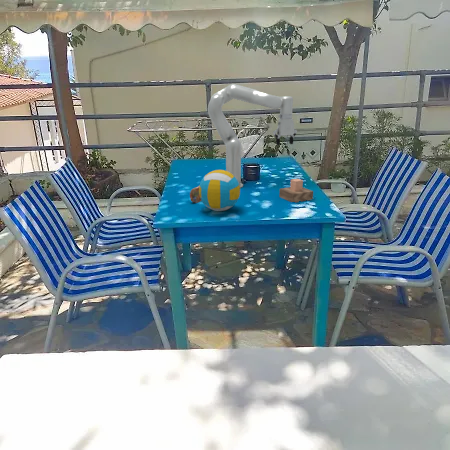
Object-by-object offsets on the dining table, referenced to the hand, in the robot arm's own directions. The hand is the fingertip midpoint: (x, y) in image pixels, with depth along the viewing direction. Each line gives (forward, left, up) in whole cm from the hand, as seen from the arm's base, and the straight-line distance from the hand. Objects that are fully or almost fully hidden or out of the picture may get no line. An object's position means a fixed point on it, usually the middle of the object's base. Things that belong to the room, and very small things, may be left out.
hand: (284, 144), depth 264 cm
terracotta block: (-10, -29, -22) cm, 38 cm away
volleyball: (-60, -29, -27) cm, 72 cm away
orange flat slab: (-63, -7, -27) cm, 69 cm away
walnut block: (-10, -29, -27) cm, 41 cm away
